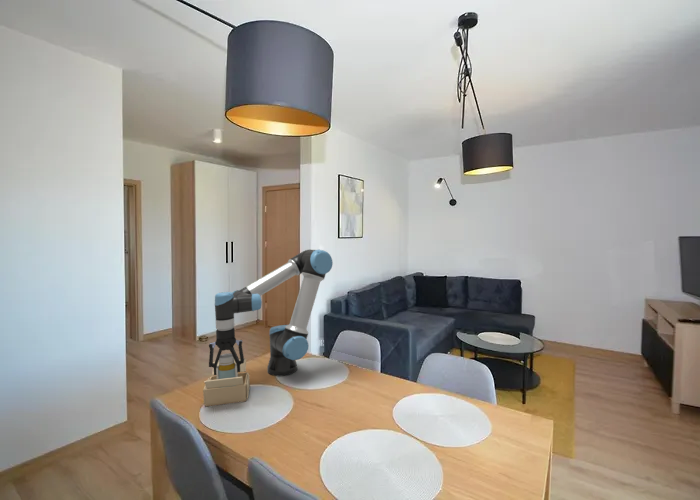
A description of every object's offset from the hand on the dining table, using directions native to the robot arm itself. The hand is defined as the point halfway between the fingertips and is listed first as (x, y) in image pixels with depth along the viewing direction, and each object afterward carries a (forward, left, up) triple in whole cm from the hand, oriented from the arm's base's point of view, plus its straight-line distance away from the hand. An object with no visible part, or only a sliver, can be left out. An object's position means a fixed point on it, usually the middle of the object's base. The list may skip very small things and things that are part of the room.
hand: (227, 380), depth 147 cm
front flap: (0, +9, +3) cm, 9 cm away
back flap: (0, -9, +3) cm, 9 cm away
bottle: (0, 0, -4) cm, 4 cm away
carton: (0, 0, -7) cm, 7 cm away
